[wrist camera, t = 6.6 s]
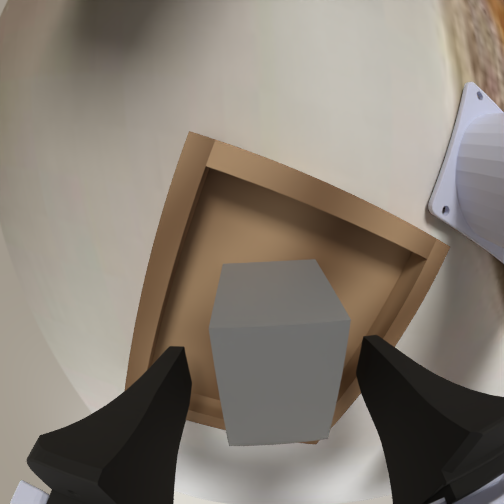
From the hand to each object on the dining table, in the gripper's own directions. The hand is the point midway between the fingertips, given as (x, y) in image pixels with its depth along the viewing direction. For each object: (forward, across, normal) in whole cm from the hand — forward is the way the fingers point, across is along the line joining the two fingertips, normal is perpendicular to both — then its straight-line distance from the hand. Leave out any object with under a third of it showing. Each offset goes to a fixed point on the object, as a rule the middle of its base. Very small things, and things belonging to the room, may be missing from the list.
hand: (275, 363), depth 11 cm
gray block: (+3, 0, 0) cm, 3 cm away
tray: (+3, 0, 0) cm, 3 cm away
